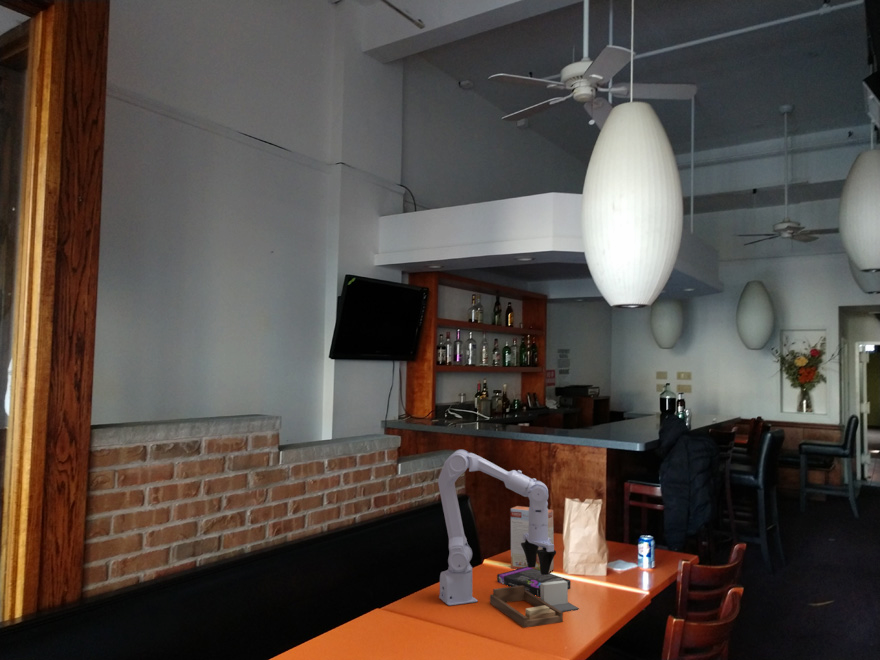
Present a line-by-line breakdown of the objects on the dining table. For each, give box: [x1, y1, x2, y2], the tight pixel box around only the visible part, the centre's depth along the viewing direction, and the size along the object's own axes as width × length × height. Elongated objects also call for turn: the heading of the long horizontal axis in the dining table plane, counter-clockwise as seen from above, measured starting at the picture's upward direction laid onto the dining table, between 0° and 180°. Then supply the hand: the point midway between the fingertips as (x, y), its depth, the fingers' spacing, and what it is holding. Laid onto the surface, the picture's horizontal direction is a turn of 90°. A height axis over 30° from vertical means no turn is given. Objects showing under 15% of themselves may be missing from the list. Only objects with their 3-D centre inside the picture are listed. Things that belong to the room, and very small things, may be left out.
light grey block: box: [540, 580, 569, 605], centre depth 197 cm, size 8×2×6 cm, turn 112°
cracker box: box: [510, 505, 555, 573], centre depth 233 cm, size 14×6×21 cm, turn 58°
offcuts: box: [524, 605, 555, 620], centre depth 183 cm, size 9×3×4 cm, turn 112°
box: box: [496, 566, 571, 598], centre depth 215 cm, size 14×4×20 cm
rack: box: [489, 585, 564, 628], centre depth 191 cm, size 12×20×4 cm, turn 22°
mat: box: [539, 597, 580, 613], centre depth 197 cm, size 9×12×1 cm
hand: (538, 570), depth 198 cm, fingers open, 7 cm apart
